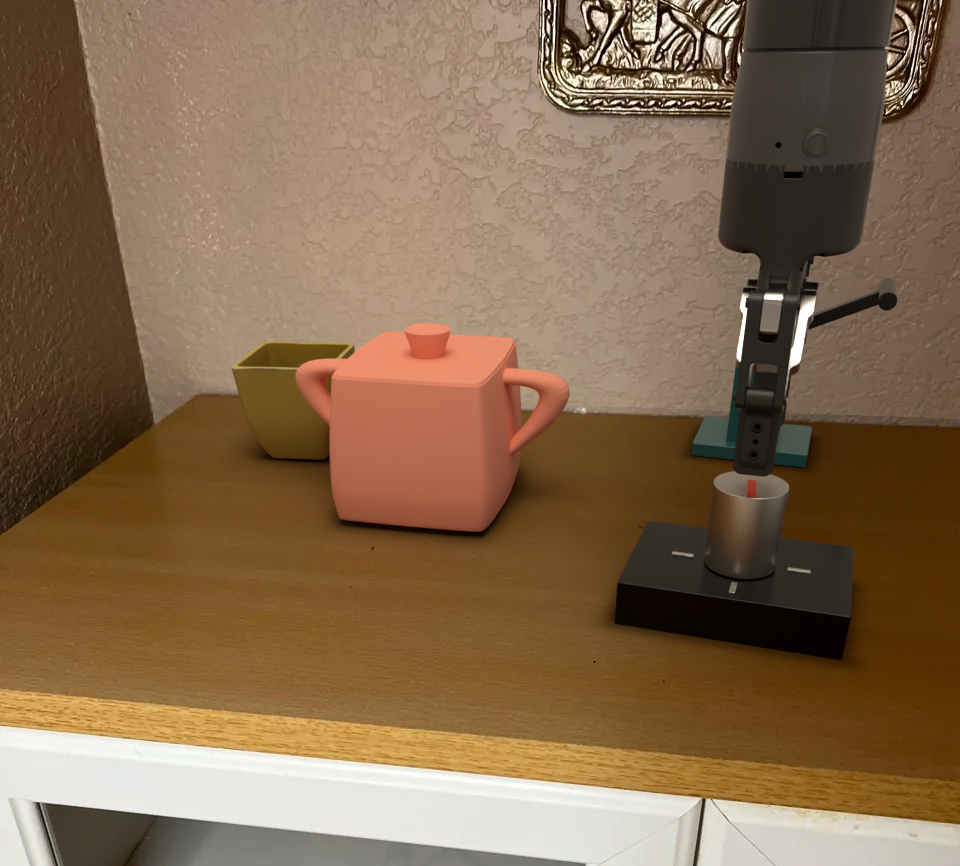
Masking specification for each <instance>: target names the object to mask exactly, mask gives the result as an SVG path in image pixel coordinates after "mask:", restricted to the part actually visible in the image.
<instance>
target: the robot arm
mask: <svg viewBox="0 0 960 866" xmlns="http://www.w3.org/2000/svg"><path fill="white" fill-rule="evenodd" d="M897 2H898V0H746V9H745V20H744V30H743V39H742V50H744V51H742V52H741V56H740V62H739V68H738V72H737V77H736V81H735V86H734V90H733V94H732V100H731V106H730V115H729V123H728V132H727V133H728V134H727V143H726V145H727V146H726V154H725V163H724V176H723V182H722V193H721V202H720V212H719V223H718V232H717V238H718V241H719V243H720V245H721V246H722V247H724V248H725V249H727V250H729V251H732V252H735V253H739V254H743V255H745V254H752V255H755V256H756V257H757V258H758V261H759V270H758V276H757V277H748V278H747V283H746V286H743V287H742V292H741V297H740V303H739V317H740V322H741V321H742V325H741V324H740V327H741V331H740V330H739V335H740V336H738V343H737V349H736V356H735V357H736V358H735V359H737V367H738V369H739V377H738V385H737V392H736V391H735V392H734V397H733V401H735V408H737V409H740V413H739V421H738V429H737V437H736V445H735V453H734V460H733V462H732V468H733V471H735V472H736V473H738V474H742V475H752V476H761V477H765V476H768V475H770V474H771V475H772V473H773V470H774V466H775V464H774V460H775V453H776V447H777V440H778V433H779V427H781V426H782V425H783V424H785V420H786V415H787V409H788V408H787V407H788V401H789V394H790V387H791V380H792V376H793V375H796V374H797V373H799V371H800V370H801V364H802V359H803V352H804V347H805V344H806V343H807V339H808V334H809V330H808V328H809V325H810V324H811V323H812V321H813V316H814V313H815V310H816V309H817V308H816V306H817V301H818V295H819V290H820V289H819V288H820V283H821V281H820V280H809V279H810V272H811V266H812V265H814V262H815V257H823V258H828V257H836V256H841V255H844V254H848V253H850V252H852V251H853V250H855V249H857V247H858V246H859V245H860V243H861V241H862V237H863V233H864V225H865V221H866V214H867V209H868V203H869V197H870V191H871V186H872V180H873V174H874V167H875V163H876V158H877V157H876V156H877V152H878V145H879V139H880V133H881V127H882V123H883V122H882V121H883V115H884V109H885V102H886V91H887V68H888V67H887V66H888V58H889V49H888V48H889V47H890V46H891V45H890V44H891V39H892V34H893V33H892V32H893V26H894V21H895V15H896V9H897V4H898V3H897ZM886 48H887V49H886ZM754 373H755V374H754ZM753 374H754V382H753V386H751V381H752V376H753Z"/></svg>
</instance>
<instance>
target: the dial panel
mask: <svg viewBox="0 0 960 866" xmlns="http://www.w3.org/2000/svg"><path fill="white" fill-rule="evenodd" d="M707 530H708V527H703V526H696V525H687V524H679V523H672V522H664V521H656V520H650V519H649V520H647V521H646V523H645V524H644V527H643V529H642V531H641V533H640V535H639V537H638V539H637V541H636V544H635V546H634V547H633V550H632V552H631V554H630V556H629V558H628V560H627V561H626V564H625V566H624V568H623V570H622V572H621V574H620V576H619V578H618V580H617V585H616V598H615V610H614V611H615V612H614V623H615V624H619V625H625V626H632V627H637V628H644V629H651V630H656V631H662V632H669V633H674V634H679V635H686V636H693V637H698V638H704V639H705V638H706V639H711V640H717V641H718V640H719V641H724V642H730V643H736V644H742V645H747V646H748V645H750V646H756V647H761V648H766V649H773V650H779V651H786V652H792V653H797V654H799V653H800V654H803V655H804V654H805V655H811V656H816V657H817V656H818V657H822V658H829V659H835V660H843V656H844V652H845V648H846V643H847V637H848V634H849V628H850V625H851V619H852V609H853V608H852V607H853V606H852V604H853V587H854V586H853V583H854V567H855V565H854V564H855V546H849V545H842V544H841V545H840V544H832V543H827V542H826V543H825V542H819V541H818V542H817V541H810V540H803V539H795V538H787V537H781V543H780V549H779V555H778V561H777V567H776V570H775V571H774V572H773V573H772V574H770V575H768V576H766V577H762V578H757V579H738V578H732V577H727V576H724V575H721V574H718V573H716V572H714V571H712V570H711V569H709V568H708V567H707V566H706V564H705V562H704V554H705V546H706V538H707Z"/></svg>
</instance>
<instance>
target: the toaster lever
mask: <svg viewBox="0 0 960 866" xmlns="http://www.w3.org/2000/svg"><path fill="white" fill-rule="evenodd" d="M897 286H898V285H897V282H896V280H895V279H893V278H891V277H885V278H883V279H882V280H880V282H879V283H878V285H877V289H876V290H873V291H870V292H868V293H866V294H865V293H864V294H863V295H860V296H857V297H854V298H851V299H849V300H846V301H844V302H841V303H838V304H836V305H833V306H830V307H827V308H825V309H822V310H819V311H816V312H814V316H813V321H812V323H811V324H810V325H809V328H808V331H810V330H812V329H815V328H818V327H821V326H823V325H827V324H829V323H831V322H834V321H837V320H841V319H843V318H845V317H849V316H851V315H854V314H857V313H859V312H862V311H865V310H869V309H870V308H874V307H875V306H876V307H877V306H878V307H879V308H880V309H881V310H882V311H887V312H888V311H891V310H894V308H896V306H897V304H898V287H897Z"/></svg>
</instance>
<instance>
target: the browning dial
mask: <svg viewBox="0 0 960 866" xmlns="http://www.w3.org/2000/svg"><path fill="white" fill-rule="evenodd" d="M711 490H712V491H711V499H710V507H709V514H708V515H709V516H708V523H707V528H708V530H707V538H706V546H705V554H704V562H705V564H706V566H707V567H708V568H709V569H711V570H712V571H714V572H716V573H718V574H721V575H724V576H727V577H732V578H738V579H757V578H762V577H766V576H768V575H770V574H772V573H773V572H774V571H775V570H776V567H777V561H778V555H779V549H780V543H781V538H783V537H782V536H783V532H784V531H783V530H784V524H785V517H786V512H787V507H788V500H789V493H790V485H789V483H788V482H787V481H786V480H784V479H783V478H782V477H779V476H777V475H774V474H772V473H771V474H770V475H768V476H765V477H761V476H752V475H742V474H738V473H736V472H735V471H734V470H733V471H726V472H723V473H721V474H719V475H716V476H715V478H714V479H713V482H712V489H711Z"/></svg>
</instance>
